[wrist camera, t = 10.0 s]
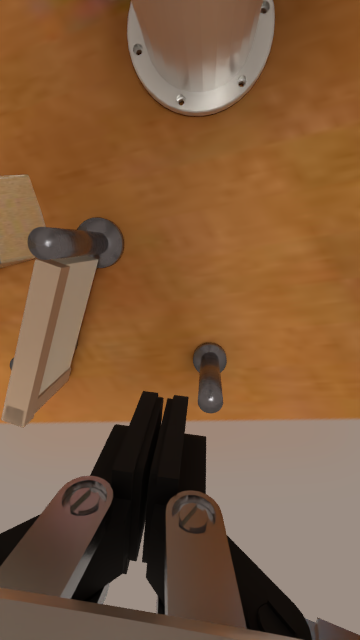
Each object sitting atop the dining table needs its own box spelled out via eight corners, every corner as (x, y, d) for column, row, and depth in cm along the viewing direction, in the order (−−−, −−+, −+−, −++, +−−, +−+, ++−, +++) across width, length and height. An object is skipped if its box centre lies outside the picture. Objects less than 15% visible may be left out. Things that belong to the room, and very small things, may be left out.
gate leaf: (83, 254, 32) (35, 258, 23) (102, 260, 32) (61, 267, 23) (53, 375, 36) (0, 420, 27) (69, 380, 36) (23, 427, 27)
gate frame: (6, 309, 36) (-91, 341, 24) (99, 207, 32) (39, 188, 21) (137, 436, 38) (107, 521, 27) (237, 355, 35) (252, 412, 23)
